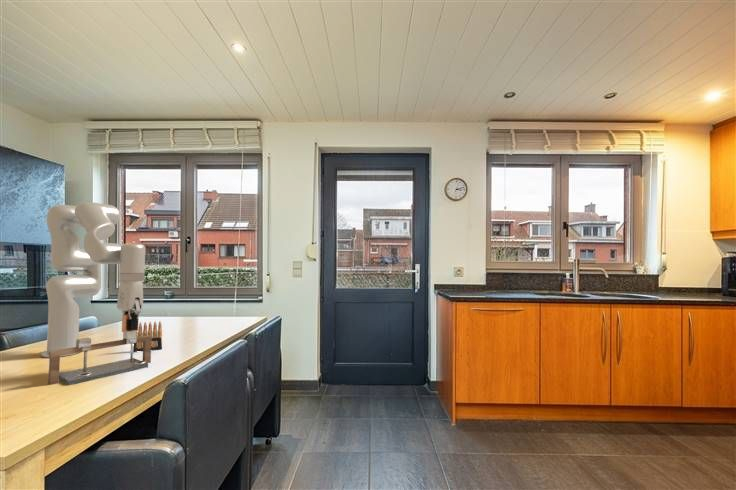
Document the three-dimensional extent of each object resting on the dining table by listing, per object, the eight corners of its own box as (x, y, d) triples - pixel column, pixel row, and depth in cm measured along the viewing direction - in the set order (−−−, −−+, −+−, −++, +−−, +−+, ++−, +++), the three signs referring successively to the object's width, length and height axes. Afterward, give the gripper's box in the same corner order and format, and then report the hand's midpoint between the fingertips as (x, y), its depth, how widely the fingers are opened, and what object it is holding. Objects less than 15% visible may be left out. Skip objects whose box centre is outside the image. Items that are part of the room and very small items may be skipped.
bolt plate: (56, 377, 110) (56, 373, 110) (135, 360, 129) (135, 357, 129) (68, 385, 103) (68, 380, 104) (150, 366, 122) (150, 362, 122)
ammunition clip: (131, 352, 141) (132, 323, 141) (132, 351, 142) (133, 322, 143) (161, 349, 145) (162, 321, 146) (162, 348, 147) (162, 320, 148)
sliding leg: (120, 361, 121) (122, 314, 122) (133, 358, 125) (134, 313, 125) (125, 363, 119) (127, 315, 119) (138, 361, 122) (140, 314, 123)
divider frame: (46, 383, 105) (48, 343, 106) (148, 361, 128) (149, 328, 129) (51, 386, 103) (53, 345, 103) (153, 363, 126) (155, 330, 126)
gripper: (110, 277, 125) (108, 328, 124) (129, 279, 116) (127, 334, 115) (134, 277, 131) (132, 325, 130) (153, 278, 122) (151, 330, 121)
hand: (130, 329), depth 122 cm, fingers closed on sliding leg, 3 cm apart
